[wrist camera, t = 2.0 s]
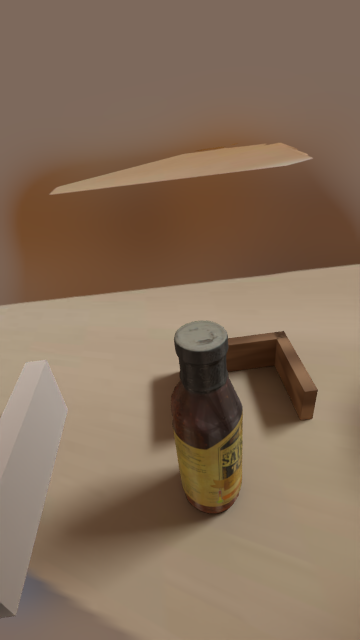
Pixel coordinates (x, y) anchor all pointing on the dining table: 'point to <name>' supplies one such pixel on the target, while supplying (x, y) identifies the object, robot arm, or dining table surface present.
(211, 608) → the dining table surface
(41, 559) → the dining table surface
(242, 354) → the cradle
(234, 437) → the sauce bottle
